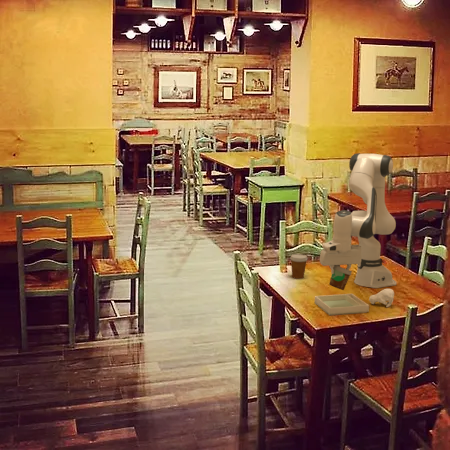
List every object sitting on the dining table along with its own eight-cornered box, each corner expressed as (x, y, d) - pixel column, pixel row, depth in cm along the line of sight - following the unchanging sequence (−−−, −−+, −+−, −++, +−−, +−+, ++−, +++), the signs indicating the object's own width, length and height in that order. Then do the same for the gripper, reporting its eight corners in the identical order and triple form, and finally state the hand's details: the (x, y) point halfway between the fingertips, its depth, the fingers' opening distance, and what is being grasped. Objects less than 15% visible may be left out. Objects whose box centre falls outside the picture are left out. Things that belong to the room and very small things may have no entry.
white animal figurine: (393, 291, 333) (368, 290, 336) (394, 308, 335) (368, 307, 338) (394, 287, 339) (369, 286, 342) (394, 304, 341) (369, 303, 344)
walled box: (351, 300, 345) (352, 293, 345) (368, 312, 328) (369, 305, 328) (314, 303, 340) (314, 296, 339) (329, 315, 323) (330, 308, 322)
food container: (322, 280, 335) (329, 261, 334) (333, 283, 337) (339, 264, 336) (334, 288, 323) (341, 268, 322) (345, 291, 326) (352, 271, 324)
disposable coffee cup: (310, 278, 381) (311, 257, 378) (296, 280, 376) (297, 259, 373) (299, 273, 389) (299, 253, 386) (285, 276, 383) (286, 255, 381)
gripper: (358, 242, 333) (356, 270, 336) (319, 244, 327) (317, 272, 330) (364, 245, 327) (362, 274, 330) (324, 247, 321) (322, 276, 324)
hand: (339, 273), depth 330 cm, fingers closed on food container, 5 cm apart
